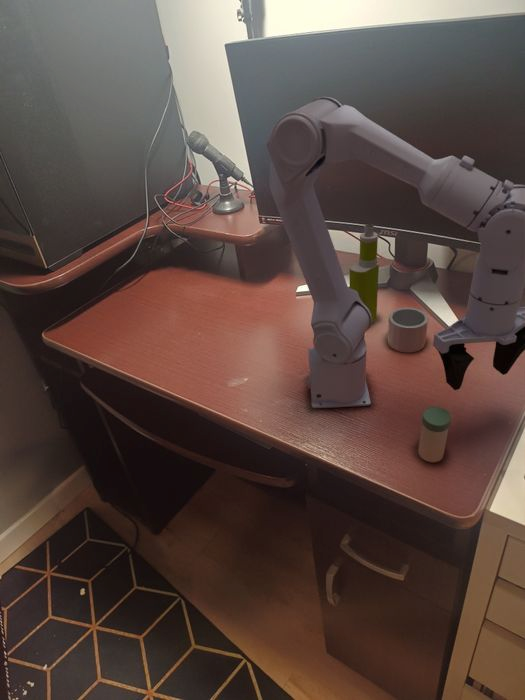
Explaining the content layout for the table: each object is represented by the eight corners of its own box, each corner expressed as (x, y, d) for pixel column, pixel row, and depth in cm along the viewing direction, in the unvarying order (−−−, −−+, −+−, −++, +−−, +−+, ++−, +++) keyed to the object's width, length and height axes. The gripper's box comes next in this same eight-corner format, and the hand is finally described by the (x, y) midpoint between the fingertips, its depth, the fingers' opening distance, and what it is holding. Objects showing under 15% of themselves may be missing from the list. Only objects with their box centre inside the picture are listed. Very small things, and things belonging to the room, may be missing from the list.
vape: (379, 318, 94) (384, 224, 83) (360, 330, 92) (362, 235, 80) (365, 311, 97) (368, 220, 85) (346, 323, 94) (346, 230, 82)
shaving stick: (421, 463, 65) (426, 426, 60) (415, 444, 67) (420, 407, 63) (446, 462, 64) (454, 424, 60) (440, 443, 67) (446, 405, 63)
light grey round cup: (391, 353, 85) (392, 329, 82) (384, 332, 90) (386, 308, 87) (429, 351, 84) (432, 326, 81) (420, 330, 90) (423, 306, 86)
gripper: (465, 324, 52) (448, 411, 60) (571, 293, 54) (542, 380, 62) (428, 296, 57) (418, 379, 65) (526, 268, 60) (505, 351, 68)
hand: (476, 377), depth 64 cm, fingers open, 7 cm apart
